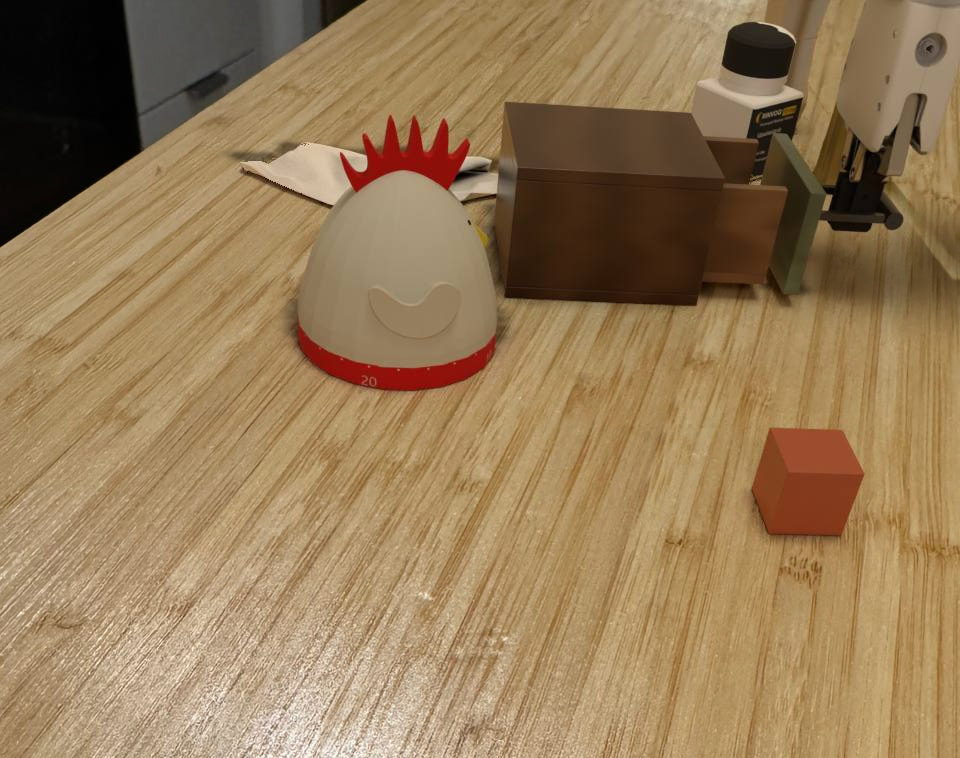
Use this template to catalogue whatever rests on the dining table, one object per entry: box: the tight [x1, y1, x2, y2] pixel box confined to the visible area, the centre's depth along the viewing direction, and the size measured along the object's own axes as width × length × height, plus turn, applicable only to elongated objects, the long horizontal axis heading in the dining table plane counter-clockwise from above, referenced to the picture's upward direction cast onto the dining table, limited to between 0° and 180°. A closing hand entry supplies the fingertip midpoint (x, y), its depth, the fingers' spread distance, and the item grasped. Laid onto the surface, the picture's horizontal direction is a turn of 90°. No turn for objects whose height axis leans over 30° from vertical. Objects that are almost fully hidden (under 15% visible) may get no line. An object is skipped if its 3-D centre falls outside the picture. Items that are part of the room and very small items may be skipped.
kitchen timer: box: [296, 114, 499, 391], centre depth 75 cm, size 14×14×15 cm
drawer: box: [702, 133, 904, 296], centre depth 89 cm, size 21×12×8 cm, turn 93°
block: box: [751, 427, 865, 536], centre depth 67 cm, size 4×4×4 cm
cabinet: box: [493, 101, 725, 307], centre depth 88 cm, size 15×13×10 cm
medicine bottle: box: [690, 21, 803, 181], centre depth 104 cm, size 7×7×12 cm
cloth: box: [239, 141, 498, 206], centre depth 98 cm, size 26×14×2 cm, turn 80°
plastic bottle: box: [763, 0, 831, 123], centre depth 110 cm, size 6×7×20 cm
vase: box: [812, 99, 847, 185], centre depth 102 cm, size 6×6×14 cm
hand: (847, 226), depth 90 cm, fingers closed
